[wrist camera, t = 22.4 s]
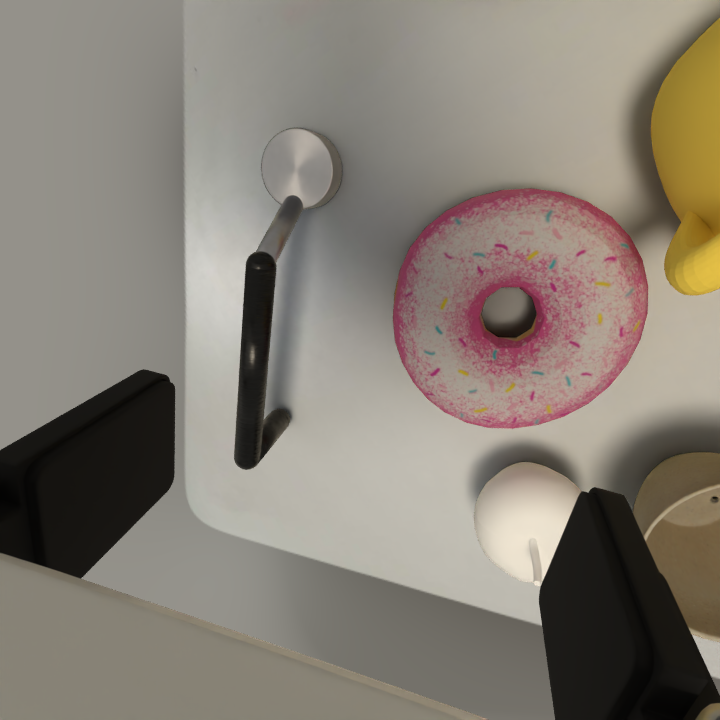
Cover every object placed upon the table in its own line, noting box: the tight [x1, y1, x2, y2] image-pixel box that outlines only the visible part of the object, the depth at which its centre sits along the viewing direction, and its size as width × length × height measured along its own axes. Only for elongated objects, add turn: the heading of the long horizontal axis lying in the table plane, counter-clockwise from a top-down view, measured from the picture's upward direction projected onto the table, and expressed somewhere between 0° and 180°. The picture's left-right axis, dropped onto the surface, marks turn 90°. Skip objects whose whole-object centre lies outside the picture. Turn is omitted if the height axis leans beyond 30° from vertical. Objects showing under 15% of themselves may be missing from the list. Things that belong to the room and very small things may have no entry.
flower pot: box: [633, 452, 720, 642], centre depth 27 cm, size 10×10×7 cm
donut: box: [393, 188, 648, 428], centre depth 27 cm, size 14×13×5 cm
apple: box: [474, 462, 581, 586], centre depth 29 cm, size 7×7×8 cm
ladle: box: [234, 128, 342, 470], centre depth 29 cm, size 20×4×7 cm, turn 171°
